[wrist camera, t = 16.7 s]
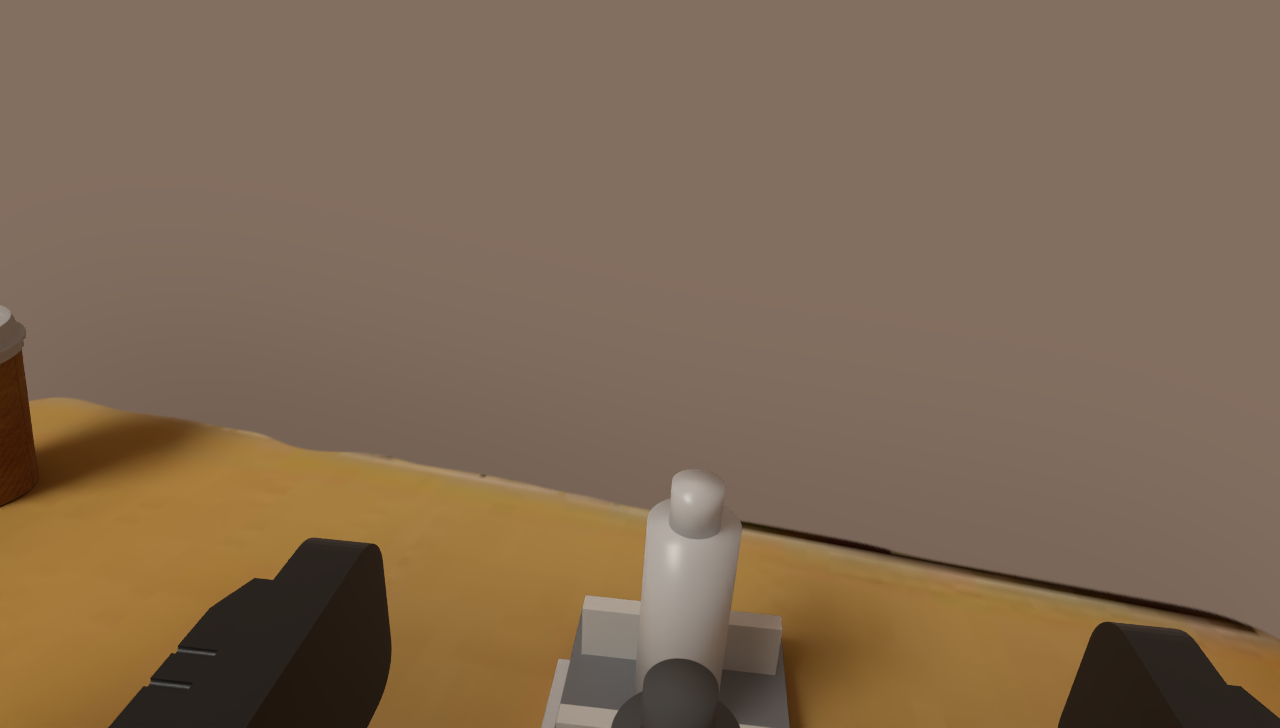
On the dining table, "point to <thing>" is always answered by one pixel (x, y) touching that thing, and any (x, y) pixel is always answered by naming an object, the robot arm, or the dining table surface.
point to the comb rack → (608, 668)
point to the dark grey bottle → (676, 699)
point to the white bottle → (688, 575)
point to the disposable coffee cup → (14, 414)
